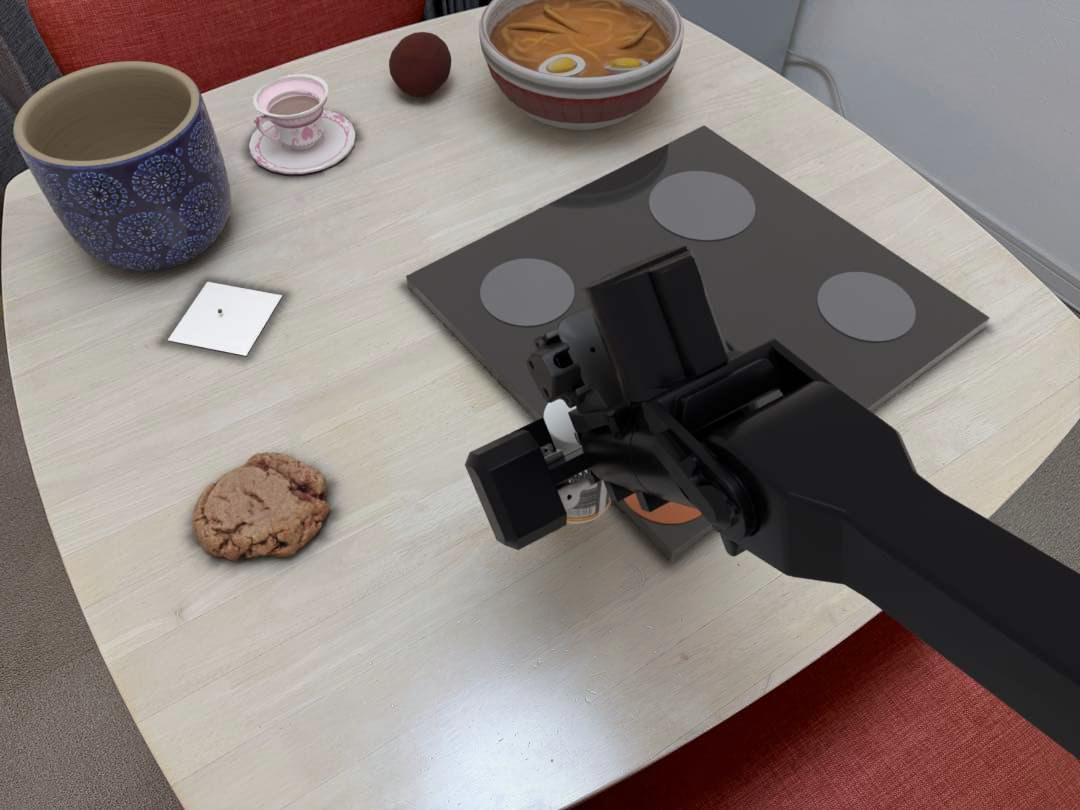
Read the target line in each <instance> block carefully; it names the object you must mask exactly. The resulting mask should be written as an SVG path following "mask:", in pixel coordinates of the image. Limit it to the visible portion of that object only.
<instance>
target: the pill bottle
mask: <svg viewBox="0 0 1080 810" xmlns="http://www.w3.org/2000/svg"><path fill="white" fill-rule="evenodd" d="M574 409H576V406H575V407H572V408H569V407H568V406H567V405H566V403H565V402H564V401H563V400H561V399H558V400H556V401H554V402H552V403H548V404H547V406H546V408H545V411H544V416H543V418H544V420H545V423H546V425H547V428H548V430H549V433H550V435H551V438H552V440H553V443H554V445H555V448H556V449H560V450H562V452H563V454H564V455H567V454H569V453H571V452H573V451H575V450H577V449H579V448H581V447H582V446H580V445H579V444H578V443H577V441H576V438H575V436H574V432H575V430H574V427H573V425H572V422H571V420H570V417H569V415H568V412H570V411H572V410H574ZM585 472H586V473H587V470H585ZM579 474H580V475H581V476H582V472H581V473H579ZM573 477H574V478H575V479H576V475H575V476H573ZM569 482H571V479H570V480H569ZM612 502H613V500H610V497H609V495H608V492H607V490H606V487H605V485H604V482H603V480H602V481H600V482H598V483H596V484H594V485H592V486H591V487H589V488H587V489H585V490H583V491H581V493H580V500H579V503H578V505H576V506H575V507H573V508H572V509H570V510H568V511H566V512H567V524H573V525H578V524H579V525H581V524H586V523H589V522H592V521H595V520H597V519H598V518H600V517H601V516H602V515H603V514H605V512H606V511H607V510H608V509H609V507H610V505H611V503H612Z"/></svg>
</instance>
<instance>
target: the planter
mask: <svg viewBox="0 0 1080 810" xmlns="http://www.w3.org/2000/svg"><path fill="white" fill-rule="evenodd" d="M12 129H13V130H12V131H13V138H14V142H15V143H16V146H17V148H18V150H19V152H20V155H21V156H22V158H23V160H24V162H25V164H26V166H27V167H28V169H29V171H30V173H31V174H32V176H33V178H34V181H35V182H36V184H37V185H38V187H39V189H40V190H41V192H42V195H43V196H44V197H45V199H46V201H47V202H48V204H49V206H50V208H51V209H52V211H53V212H54V214H55V216H56V217H57V219H58V220H59V222H60V223H61V224H62V226H63V227H64V229H65V230H66V232H67V233H68V234H69V236H70V237H71V238H72V240H73V241H74V242H75V243H76V244H77V245H78V246H79V247H80V248H81V249H82V250H83V251H84V252H85V253H87V254H88V255H90V256H91V257H93V258H94V259H97V260H98V261H100V262H102V263H104V264H106V265H109V266H111V267H114V268H119V269H122V270H128V271H134V272H153V271H154V272H156V271H161V270H162V271H163V270H166V269H171V268H173V267H177V266H180V265H183V264H184V263H187V262H189V261H192V260H194V259H196V257H198V256H199V255H201V254H202V253H204V252H206V250H207V249H209V248H210V247H211V246H212V245H213V244H214V243H215V242H216V240H217V239H218V237H219V236H220V235H221V233H222V232H223V229H224V228H225V226H226V224H227V221H228V218H229V215H230V211H231V206H232V196H231V195H232V193H231V192H232V191H231V186H230V185H231V184H230V181H229V175H228V171H227V168H226V164H225V161H224V156H223V154H222V150H221V146H220V143H219V141H218V137H217V134H216V132H215V131H216V130H215V129H214V125H213V123H212V120H211V117H210V115H209V111H208V109H207V106H206V103H205V100H204V98H203V96H202V93H201V91H200V89H199V87H198V85H197V84H196V82H195V81H194V80H193V79H192V78H191V77H190V76H189V75H187V74H186V73H184V72H183V71H181V70H179V69H177V68H174V67H172V66H169V65H166V64H163V63H162V64H161V63H157V62H152V61H151V62H150V61H138V60H137V61H136V60H135V61H134V60H133V61H132V60H128V61H116V62H107V63H102V64H97V65H92V66H88V67H85V68H82V69H79V70H75V71H74V72H73V71H72V72H71V73H68V74H66V75H64V76H61V77H59V78H56V79H54V80H53V81H52V82H50V83H48V84H46V85H45V86H43V87H42V88H40V89H39V90H38V91H36V92H35V93H33V95H32V96H30V97H29V98H28V99H27V100H26V101H25V103H24V104H23V105H22V107H21V108H20V109H19V111H18V113H17V114H16V116H15V119H14V123H13V128H12Z"/></svg>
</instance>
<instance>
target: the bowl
mask: <svg viewBox="0 0 1080 810" xmlns="http://www.w3.org/2000/svg"><path fill="white" fill-rule="evenodd" d="M480 16H481V17H480V19H479V22H478V37H479V43H480V49H481V53H482V55H483V58H484V61H485V63H486V65H487V68H488V70H489V72H490V75H491V77H492V79H493V81H494V83H496V85H497V86H498V88H499V90H501V92H502V94H504V96H505V97H506V98H507V100H508V101H509V102H511V103H512V105H514V106H515V107H517V108H518V110H520V111H521V112H523V113H524V114H525V115H526V116H528V117H529V118H531V119H533V120H535V121H537V122H539V123H542V124H545V125H548V126H551V127H554V128H557V129H562V130H568V131H569V130H570V131H591V130H597V129H601V128H606V127H610V126H613V125H616V124H619V123H621V122H623V121H625V120H628V119H629V118H630V117H632V116H634V115H635V114H636V113H638V112H639V111H640V110H642V109H643V108H645V107H646V106H647V105H649V104H650V102H651V101H652V100H653V99H654V98H655V97H656V96H657V94H659V92H660V91H661V90H662V88H663V87H664V86H665V85H666V83H667V82H668V80H669V78H670V76H671V74H672V71H673V69H674V67H675V66H676V63H677V61H678V60H679V58H680V54H681V52H682V46H683V42H684V35H685V26H684V22H683V18H682V16H681V14H680V13H679V11H678V10H677V8H676V7H675V5H674V4H673V3H672V2H670V0H491V1H490V2H489V4H487V6H486V7H485V9H484V10H483V11H482V14H481V15H480Z"/></svg>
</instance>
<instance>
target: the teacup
mask: <svg viewBox="0 0 1080 810" xmlns="http://www.w3.org/2000/svg"><path fill="white" fill-rule="evenodd" d="M329 92H330V87H329V85H328V83H327V82H326V81H325V79H323V78H322V77H320V76H317V75H314V74H310V73H294V74H287V75H283V76H280V77H277V78H274V79H272V80H270V81H268V82H266V83H264V84H263V85H262V86H261V87H260V88H258V89H257V91H256V92H255V93H254V95H253V98H252V104H253V105H252V106H253V108H254V109H255V110H256V111H257V112H259V113H261V114H262V115H260V116H256V118H255V119H254V120H253V123H254V124H255V126H256V129H255V131H254V132H253V133H252V135H251V137H250V140H249V143H248V148H249V151H250V156H251V158H252V159H253V160H254V161H255V162H256V163H257V165H259V166H260V167H262V168H264V169H266V170H268V171H270V172H274V173H279V174H284V175H305V174H309V173H315V172H319V171H322V170H324V169H327V168H329V167H332V166H335V165H336V164H338V163H339V162H340V161H342V160H343V159H344V158H346V157H347V156H348V155H349V154H350V152H351V151H352V149H353V148H354V146H355V142H356V136H357V135H356V131H355V129H354V126H353V123H351V122H350V120H348V119H347V118H346V117H345V116H344V115H341V114H339V113H337V112H335V111H332V110H327V109H324V107H325V105H326V103H327V100H328V95H329Z"/></svg>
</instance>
